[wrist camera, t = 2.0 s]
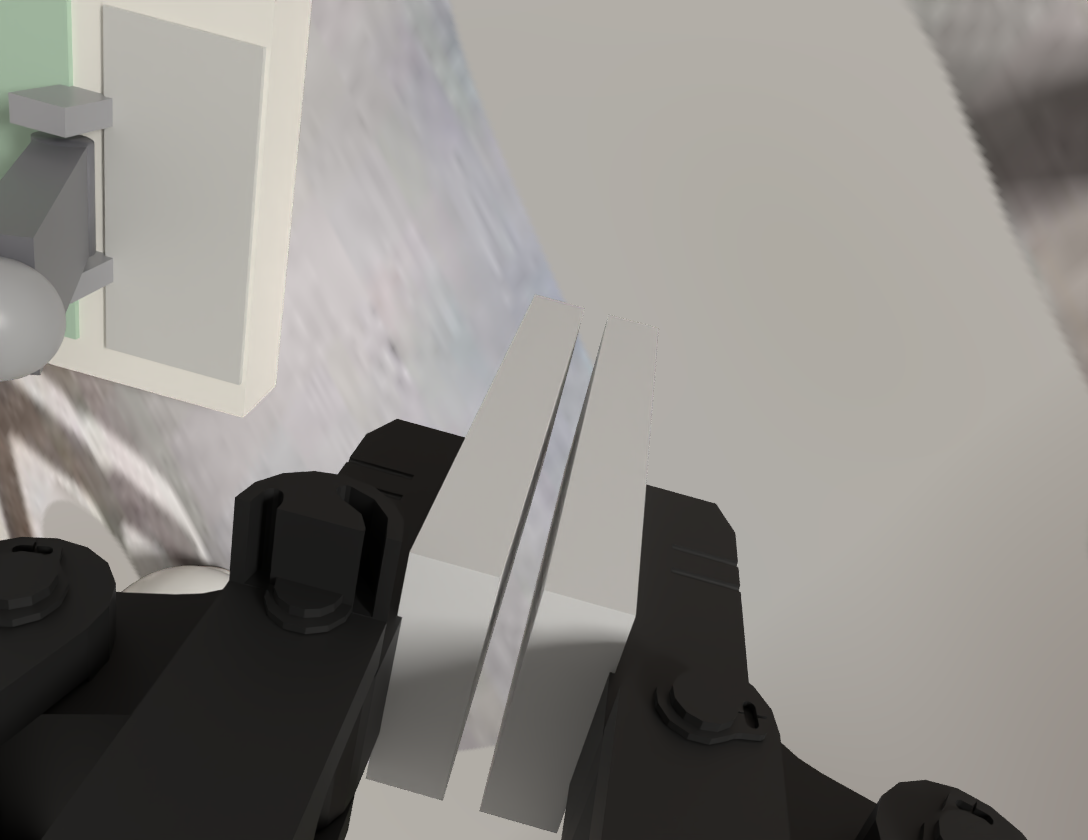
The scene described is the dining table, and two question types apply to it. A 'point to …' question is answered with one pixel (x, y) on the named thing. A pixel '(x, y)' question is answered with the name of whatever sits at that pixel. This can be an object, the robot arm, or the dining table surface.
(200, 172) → the switch box
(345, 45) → the dining table surface
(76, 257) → the toggle lever
